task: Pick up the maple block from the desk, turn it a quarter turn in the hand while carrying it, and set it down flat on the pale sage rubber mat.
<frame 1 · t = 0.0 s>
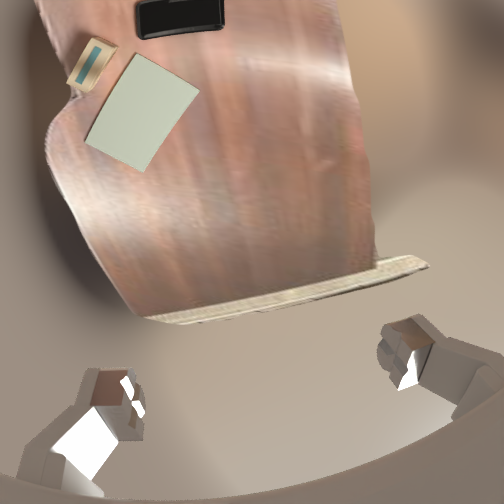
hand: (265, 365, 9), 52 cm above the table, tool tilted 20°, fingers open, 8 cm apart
maple block: (96, 62, 40), on the table
rubber mat: (138, 114, 48), on the table
phone: (180, 14, 38), on the table
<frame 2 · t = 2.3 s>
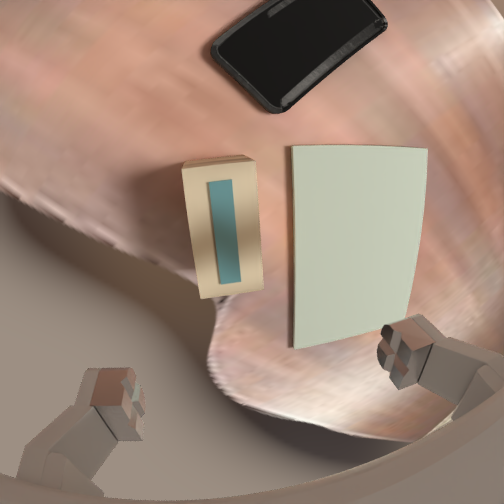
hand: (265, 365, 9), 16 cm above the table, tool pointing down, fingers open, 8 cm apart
maple block: (219, 213, 24), on the table
rubber mat: (362, 251, 27), on the table
phone: (304, 32, 19), on the table
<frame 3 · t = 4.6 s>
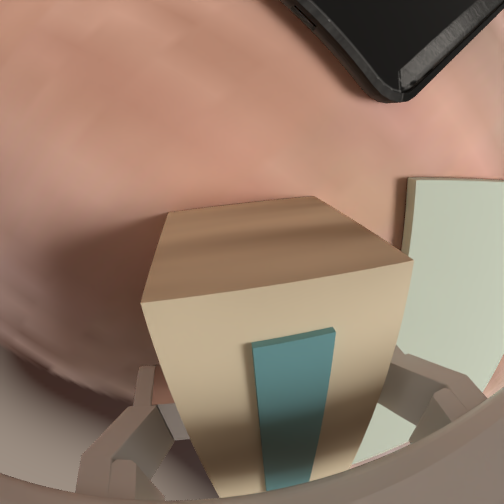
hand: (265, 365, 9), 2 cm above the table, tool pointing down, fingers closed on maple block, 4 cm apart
maple block: (253, 325, 11), on the table, touching gripper
rubber mat: (463, 342, 14), on the table
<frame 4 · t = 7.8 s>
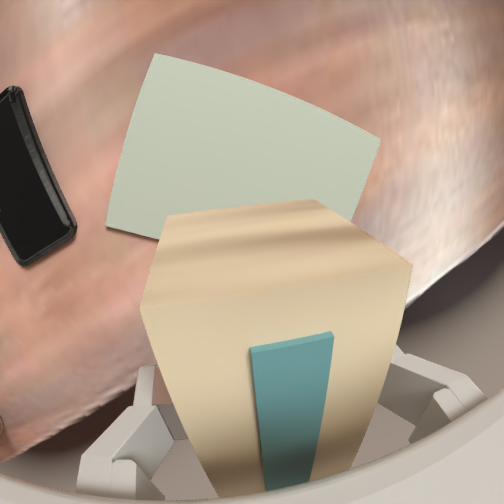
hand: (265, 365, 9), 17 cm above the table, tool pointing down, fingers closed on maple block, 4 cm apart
maple block: (252, 327, 11), point 15 cm above the table, touching gripper
rubber mat: (249, 172, 23), on the table
phone: (17, 175, 19), on the table
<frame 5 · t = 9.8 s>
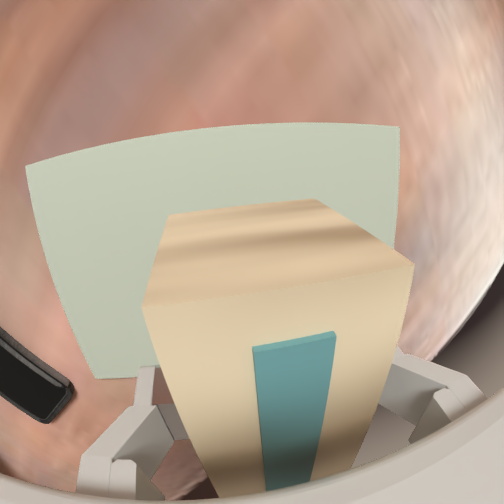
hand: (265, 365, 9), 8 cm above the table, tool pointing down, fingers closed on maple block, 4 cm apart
maple block: (253, 327, 11), point 6 cm above the table, touching gripper
rubber mat: (228, 263, 16), on the table
when the fingers open (4 cm above the table, at t = 11.3 s): maple block drops 1 cm, resting on rubber mat.
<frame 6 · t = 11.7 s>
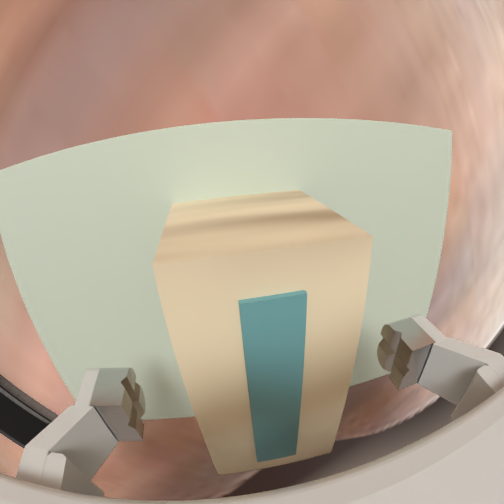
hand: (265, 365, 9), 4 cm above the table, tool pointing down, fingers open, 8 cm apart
maple block: (246, 306, 12), resting on rubber mat
rubber mat: (245, 297, 12), on the table
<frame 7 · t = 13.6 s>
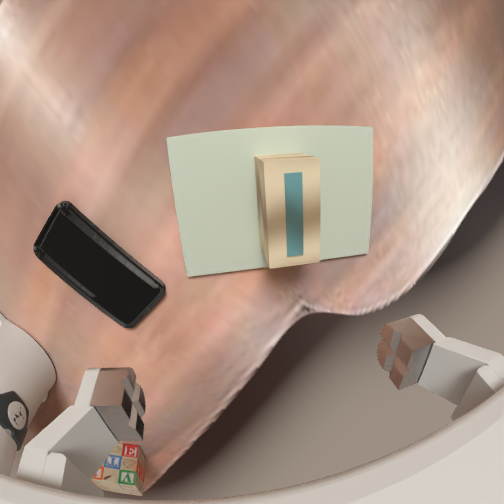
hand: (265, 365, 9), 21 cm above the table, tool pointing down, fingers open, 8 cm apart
maple block: (280, 200, 28), resting on rubber mat
stack of blocks: (92, 443, 43), on the table
rubber mat: (279, 198, 29), on the table
phone: (97, 265, 30), on the table
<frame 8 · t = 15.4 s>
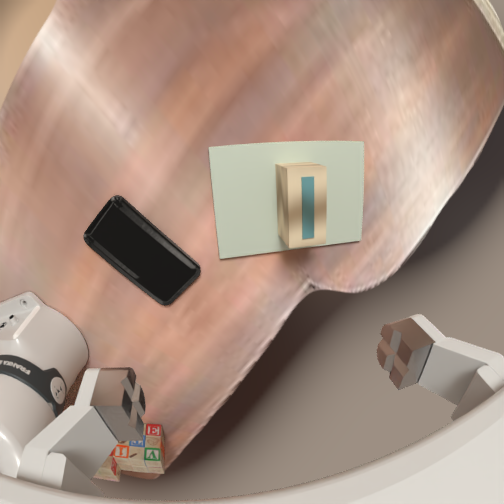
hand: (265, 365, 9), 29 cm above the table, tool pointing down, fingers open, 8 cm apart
maple block: (294, 198, 37), resting on rubber mat
stack of blocks: (114, 426, 49), on the table
rubber mat: (293, 196, 37), on the table
phone: (141, 251, 37), on the table
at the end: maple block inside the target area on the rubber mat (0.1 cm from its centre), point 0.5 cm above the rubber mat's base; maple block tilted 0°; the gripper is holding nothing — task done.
